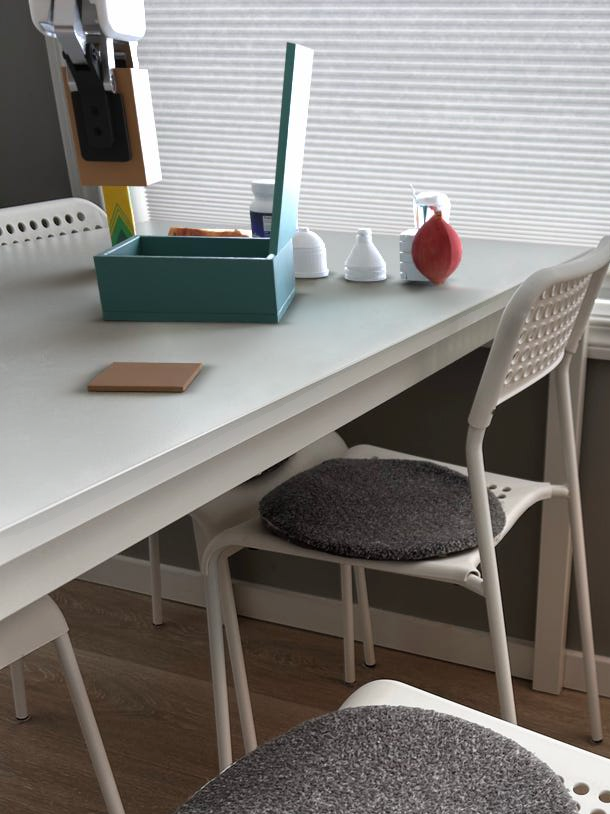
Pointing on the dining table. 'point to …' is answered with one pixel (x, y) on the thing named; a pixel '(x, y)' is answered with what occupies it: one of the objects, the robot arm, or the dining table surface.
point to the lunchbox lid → (290, 145)
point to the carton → (141, 136)
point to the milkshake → (429, 206)
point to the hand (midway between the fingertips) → (117, 155)
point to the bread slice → (209, 232)
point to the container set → (352, 257)
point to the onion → (436, 249)
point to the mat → (145, 377)
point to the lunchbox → (195, 279)
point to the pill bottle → (262, 208)
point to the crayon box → (119, 213)
